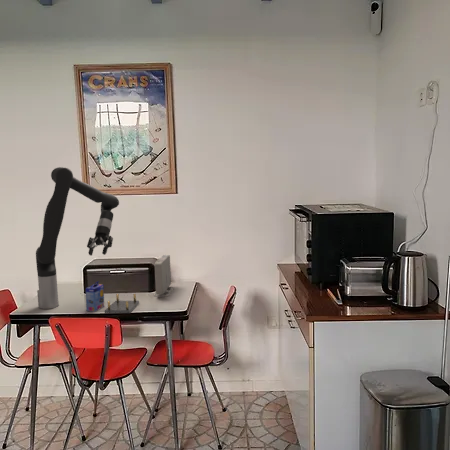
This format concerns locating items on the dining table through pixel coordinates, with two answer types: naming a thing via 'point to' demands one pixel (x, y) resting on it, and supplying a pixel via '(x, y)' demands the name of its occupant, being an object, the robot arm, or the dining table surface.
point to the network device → (163, 276)
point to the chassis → (122, 306)
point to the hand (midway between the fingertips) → (97, 254)
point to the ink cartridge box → (94, 297)
